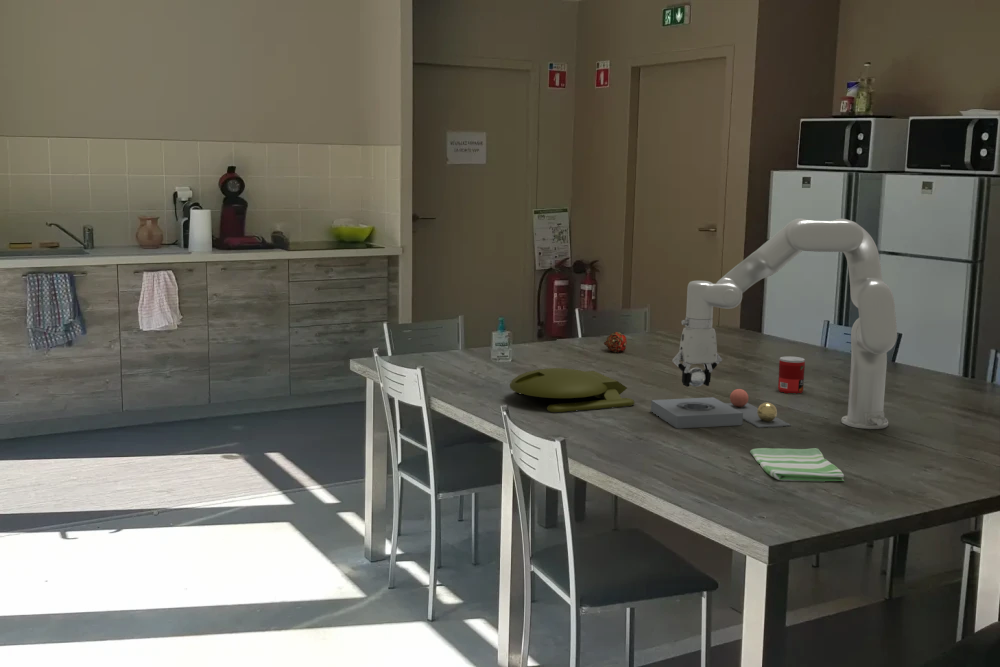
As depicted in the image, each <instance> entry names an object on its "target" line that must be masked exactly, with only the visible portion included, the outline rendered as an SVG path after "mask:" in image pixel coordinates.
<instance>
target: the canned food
mask: <svg viewBox="0 0 1000 667" xmlns="http://www.w3.org/2000/svg"><path fill="white" fill-rule="evenodd" d="M805 367H806V359H805V358H803V357H798V356H780V357H779V362H778V383H777V384H778V385H777V390H778V392H780V393H782V392H784V393H783V394H788V393H796V394H795V395H798V394H797V393H800V394H802V393H803V392H804V384H805V383H804V382H805Z"/></svg>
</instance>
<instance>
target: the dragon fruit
mask: <svg viewBox="0 0 1000 667" xmlns="http://www.w3.org/2000/svg"><path fill="white" fill-rule="evenodd" d="M627 343H628V342H627V337H626V335H625V334H622V333H621V332H619V331H614V332H613V333H611V334H610V335H608V336H607V337H606V340H605V341H603V345H604V346H606V347H607V350H608V351H610V352H614V353H616V352H618V353H619V352H620V351H621V352H625V350H626V348H627Z"/></svg>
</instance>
